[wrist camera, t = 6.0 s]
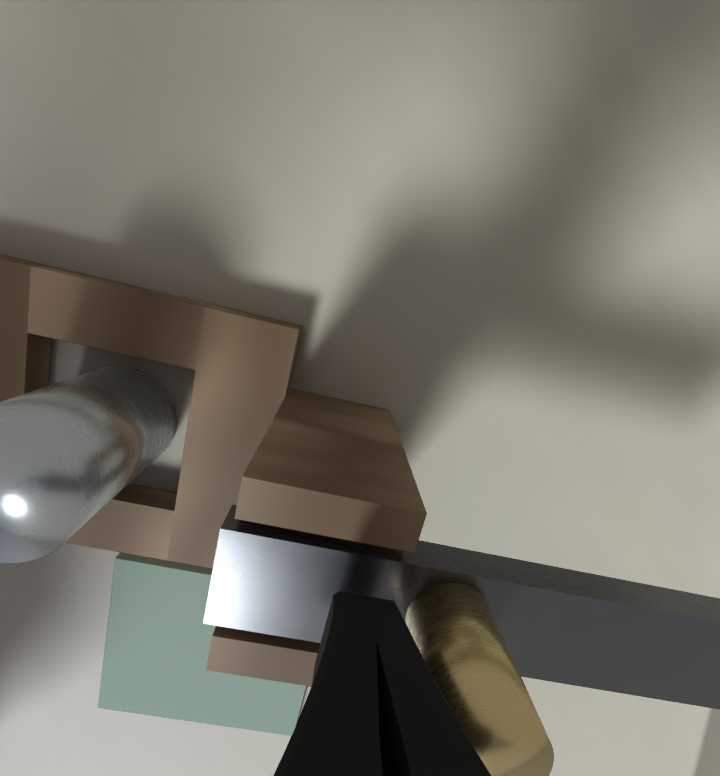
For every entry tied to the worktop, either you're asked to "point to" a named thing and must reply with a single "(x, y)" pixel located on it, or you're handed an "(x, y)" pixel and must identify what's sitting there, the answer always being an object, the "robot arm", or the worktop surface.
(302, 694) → the sage rubber pad
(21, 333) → the walnut socket block
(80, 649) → the worktop surface
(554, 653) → the dark grey long bar
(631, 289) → the worktop surface
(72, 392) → the steel peg
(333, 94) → the worktop surface
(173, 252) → the worktop surface
